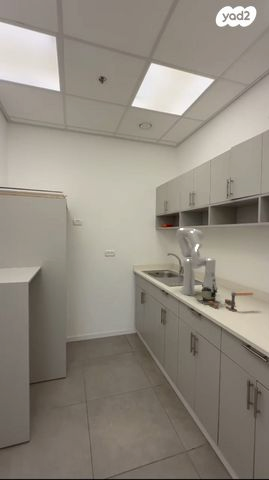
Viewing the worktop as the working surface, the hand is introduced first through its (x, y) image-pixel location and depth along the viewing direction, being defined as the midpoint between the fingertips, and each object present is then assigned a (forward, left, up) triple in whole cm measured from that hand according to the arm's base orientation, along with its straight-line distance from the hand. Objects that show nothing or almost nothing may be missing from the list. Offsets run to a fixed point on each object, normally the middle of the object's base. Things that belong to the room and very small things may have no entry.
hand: (208, 295), depth 181 cm
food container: (-1, 0, -5) cm, 5 cm away
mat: (0, 0, -5) cm, 5 cm away
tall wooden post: (+22, +11, +5) cm, 25 cm away
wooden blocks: (+14, +4, -5) cm, 16 cm away
